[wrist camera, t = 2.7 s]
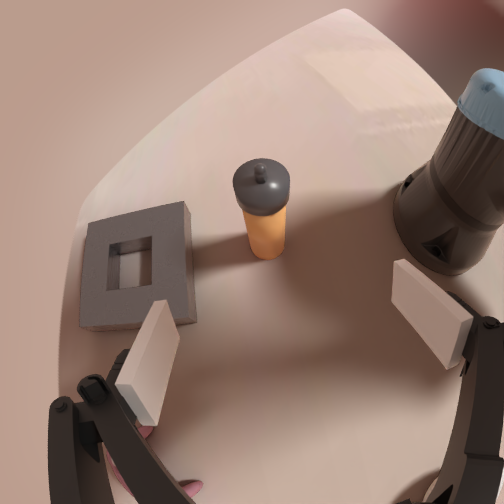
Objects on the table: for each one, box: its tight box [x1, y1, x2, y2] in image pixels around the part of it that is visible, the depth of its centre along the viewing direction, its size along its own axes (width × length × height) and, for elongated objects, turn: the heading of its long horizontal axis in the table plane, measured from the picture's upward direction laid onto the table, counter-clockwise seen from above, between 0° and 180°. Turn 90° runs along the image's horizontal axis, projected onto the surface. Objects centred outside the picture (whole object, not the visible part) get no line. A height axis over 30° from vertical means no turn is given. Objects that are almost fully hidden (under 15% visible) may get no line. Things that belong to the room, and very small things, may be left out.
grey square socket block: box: [79, 201, 197, 332], centre depth 32 cm, size 14×14×3 cm
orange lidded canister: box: [233, 158, 290, 260], centre depth 27 cm, size 5×5×14 cm
